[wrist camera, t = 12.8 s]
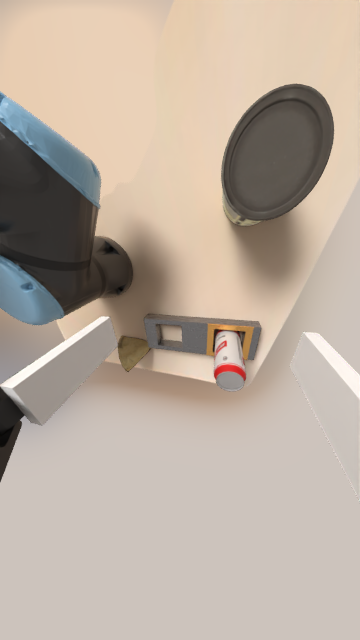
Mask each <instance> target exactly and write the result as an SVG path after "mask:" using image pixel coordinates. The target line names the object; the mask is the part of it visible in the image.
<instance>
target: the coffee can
mask: <svg viewBox="0 0 360 640" xmlns="http://www.w3.org/2000/svg"><path fill="white" fill-rule="evenodd" d="M333 138H334V123H333V117H332V113H331V110H330V107H329V105H328V103H327V101H326V99H325V98H324V97H323V96H322V95H321V94H320V93H319V92H318V91H317V90H316V89H314V88H312V87H310V86H306V85H302V84H290V85H284V86H281V87H279V88H276V89H274V90H272V91H270V92H268V93H267V94H265V95H263V96H262V97H261V98H259V99H258V100H257V101H256V102H255V103H254V104H253V105H252V106H251V107H250V108H249V109H248V110H247V111H246V112H245V113H244V115H243V116H242V117H241V119H240V120H239V122H238V123H237V125H236V126H235V128H234V130H233V132H232V134H231V136H230V138H229V141H228V143H227V146H226V149H225V152H224V156H223V162H222V171H221V180H222V188H223V195H222V203H223V208H224V211H225V213H226V216H227V217H228V218H229V219H230V220H231V221H232V222H233V223H235V224H237V225H240V226H251V225H255V224H257V223H259V222H261V221H264V220H270V219H274V218H277V217H279V216H281V215H283V214H285V213H287V212H289V211H290V210H292V209H293V208H294V207H296V206H297V205H298V204H299V203H300V202H301V201H302V200H303V199H304V198H305V197H306V196H307V195H308V194H309V193H310V192H311V191H312V189H313V188H314V187H315V185H316V184H317V182H318V181H319V179H320V177H321V175H322V173H323V171H324V169H325V167H326V165H327V162H328V159H329V156H330V153H331V149H332V144H333Z"/></svg>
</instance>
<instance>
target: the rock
mask: <svg viewBox="0 0 360 640" xmlns="http://www.w3.org/2000/svg"><path fill="white" fill-rule="evenodd" d="M150 349H151V348H150V347H148V342H146V341H144V340H142V339H138V338H127V337H125V336H121V338H120V339H119V343H118V353H119V359H120V361H121V363H122V366H123V367H124V368H125V370H126V371H127V372H129V371H130V370H131V369H132V368H133V367H134V366H135V365H136V364H137V363H138V362H139V361H140V359H141V358H143V356H144V355H146V354H147V352H148V351H149V350H150Z"/></svg>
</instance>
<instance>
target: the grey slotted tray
mask: <svg viewBox="0 0 360 640" xmlns="http://www.w3.org/2000/svg"><path fill="white" fill-rule="evenodd" d="M144 323H145V329H146V335H147V341H148V347H150V348H158V349H166V350H175V351H183V352H191V353H200V354H206V355H210V356H215V345H213V339H214V329H221V330H233V331H243V334H242V340H241V347H242V353H243V358H244V360H247V359H249V360H254V356H255V352H256V348H257V343H258V339H259V335H260V331H261V326H260V324H259V322H258V321H244V320H229V319H215V318H200V317H185V316H171V315H156V314H148V315H147V316H146V317H145V318H144ZM160 324H168V325H180V326H182V342H180V341H171V340H161V332H160Z"/></svg>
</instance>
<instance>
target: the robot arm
mask: <svg viewBox="0 0 360 640" xmlns="http://www.w3.org/2000/svg"><path fill="white" fill-rule="evenodd" d="M100 187H101V177H100V173H99V171H98V169H97V167H96V165H95V164H94V163H93V161H92V160H91V159H90V158H88V157H87V156H86V155H85V154H84V153H82V152H81V151H80V150H79V149H77V148H76V147H75V146H74V145H72V144H71V143H70V142H69V141H67V140H66V139H64V138H63V137H62V136H61V135H59V134H58V133H57V132H55V131H54V130H52V129H51V128H50V127H49V126H47V125H46V124H44V123H43V122H42V121H41V120H39V119H38V118H37V117H35V116H34V115H32V114H31V113H30V112H28V111H27V110H26V109H24V108H23V107H22V106H20V105H19V104H17V103H16V102H15V101H13V100H12V99H10V98H8V97H7V96H6V95H4V94H3V93H2V92H0V308H1V309H2V310H4V311H5V312H7V313H8V314H9V315H11V316H13V317H14V318H16V319H18V320H20V321H22V322H25V323H27V324H32V325H43V324H47V323H49V322H52V321H54V320H56V319H61V318H63V317H64V316H65V315H67V314H69V313H71V312H73V311H75V310H77V309H79V308H81V307H82V306H84V305H86V304H88V303H90V302H92V301H94V300H96V299H98V298H111V297H116V296H119V295H120V294H122V293H124V292H125V291H126V290H127V289H128V288H129V287H130V285H131V282H132V276H133V272H132V266H131V262H130V260H129V258H128V256H127V254H126V252H125V251H124V250H123V248H122V247H121V246H120V245H119V244H117V243H116V242H115V241H113V240H112V239H109V238H107V237H103V236H95V229H96V223H97V216H98V210H99V209H100V204H99V200H100ZM117 346H118V343H117V340H116V336H115V332H114V329H113V325H112V322H111V318H110V317H104V316H101V317H100V318H98V319H97V320H95V321H94V322H92V323H91V324H89V325H88V326H87V327H85V328H84V329H82V330H81V331H79V332H78V333H76V334H75V335H73V336H72V337H70V338H69V339H67V340H66V341H64V342H63V343H61V344H60V345H58V346H57V347H55V348H54V349H52V350H51V351H49V352H48V353H46V354H44V355H43V356H42V357H40V358H38V359H37V360H36V361H34V362H32V363H31V364H30V365H29V366H27V367H25V368H24V369H22V370H20V371H19V372H18V373H16V374H15V375H13V376H12V377H10V378H9V379H7V380H6V381H4V382H3V383H1V384H0V482H1V479H2V476H3V474H4V471H5V468H6V466H7V463H8V460H9V458H10V455H11V453H12V450H13V447H14V445H15V441H16V439H17V437H18V434H19V431H20V429H21V426H22V422H21V421H20V419H21V418H22V417H23V416H26V417H27V419H28V420H29V421H30V422H31V423H35V424H38V425H41V426H42V425H44V424H45V422H46V421H47V420H48V419H49V418H50V417H51V416H52V415H53V414H54V413H55V412H56V411H57V410H58V409H59V408H60V407H61V406H62V404H63V403H64V402H65V401H66V400H67V399H68V398H69V397H70V396H71V395H72V394H73V393H74V392H75V391H76V390H77V388H78V387H79V386H80V385H81V384H82V383H83V382H84V381H85V380H86V379H87V378H88V377H89V376H90V375H91V374H92V373H93V372H94V370H95V369H96V368H97V367H98V366H99V365H100V364H101V363H102V362H103V361H104V360H105V359H106V358H107V357H108V356H109V355H110V354H111V352H112V351H113V350H114V349H115V348H116V347H117ZM290 368H291V370H292V372H293V374H294V376H295V378H296V380H297V382H298V384H299V385H300V387H301V389H302V391H303V393H304V395H305V397H306V399H307V401H308V403H309V405H310V407H311V408H312V411H313V413H314V415H315V416H316V418H317V420H318V422H319V424H320V426H321V428H322V430H323V432H324V434H325V436H326V438H327V440H328V442H329V444H330V446H331V447H332V449H333V451H334V453H335V455H336V457H337V459H338V461H339V463H340V465H341V467H342V469H343V471H344V473H345V475H346V476H347V478H348V480H349V482H350V484H351V486H352V488H353V490H354V492H355V494H356V496H357V498H358V500H359V502H360V375H359V374H358V373H357V372H356V371H355V370H354V369H353V368H352V367H351V366H350V365H349V364H348V363H347V362H346V361H345V360H344V359H343V358H342V357H341V356H340V355H339V354H338V353H337V352H336V351H335V350H334V349H333V348H332V347H331V346H330V345H329V344H328V343H327V342H326V341H325V340H324V339H323V338H322V337H321V336H320V335H319V334H318V333H309V332H303V333H302V336H301V339H300V341H299V344H298V346H297V349H296V351H295V354H294V357H293V359H292V362H291V364H290Z"/></svg>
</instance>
